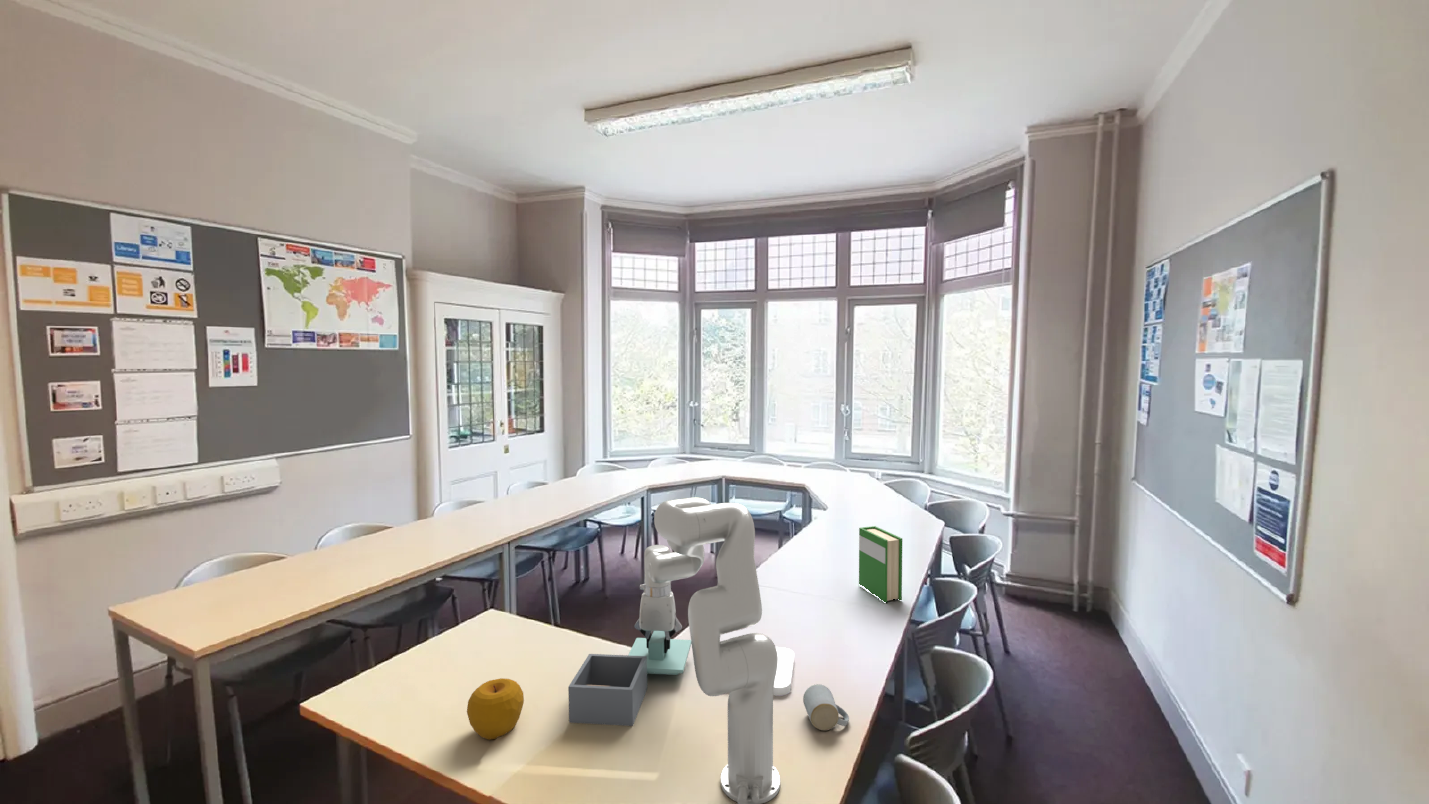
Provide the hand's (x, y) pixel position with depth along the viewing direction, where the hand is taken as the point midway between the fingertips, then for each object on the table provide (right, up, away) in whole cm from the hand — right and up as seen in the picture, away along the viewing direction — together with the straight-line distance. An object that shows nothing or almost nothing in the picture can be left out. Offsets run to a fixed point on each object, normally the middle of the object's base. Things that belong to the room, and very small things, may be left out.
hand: (658, 650), depth 161 cm
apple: (-37, -8, -26) cm, 46 cm away
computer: (+28, -7, 0) cm, 29 cm away
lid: (0, -3, 0) cm, 3 cm away
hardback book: (+81, -3, +55) cm, 98 cm away
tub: (-11, -7, -18) cm, 22 cm away
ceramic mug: (+44, -7, -24) cm, 51 cm away
